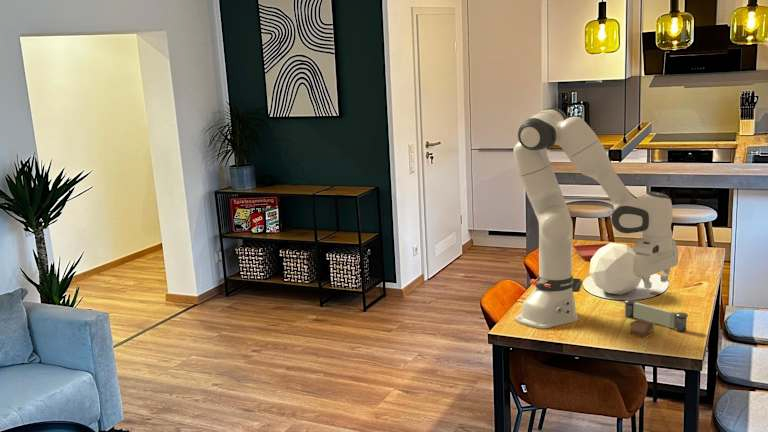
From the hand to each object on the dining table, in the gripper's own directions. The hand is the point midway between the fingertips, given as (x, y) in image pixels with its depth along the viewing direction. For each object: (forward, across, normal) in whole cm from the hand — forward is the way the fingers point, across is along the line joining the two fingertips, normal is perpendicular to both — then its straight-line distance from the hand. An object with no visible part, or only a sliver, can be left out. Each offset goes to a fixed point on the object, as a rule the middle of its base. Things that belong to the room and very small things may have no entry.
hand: (656, 284), depth 226 cm
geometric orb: (+16, -24, -32) cm, 43 cm away
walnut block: (+15, +6, -1) cm, 17 cm away
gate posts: (+15, -5, -4) cm, 17 cm away
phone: (+16, -20, -50) cm, 56 cm away
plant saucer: (+16, -64, -69) cm, 96 cm away
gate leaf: (+15, -5, -4) cm, 16 cm away
